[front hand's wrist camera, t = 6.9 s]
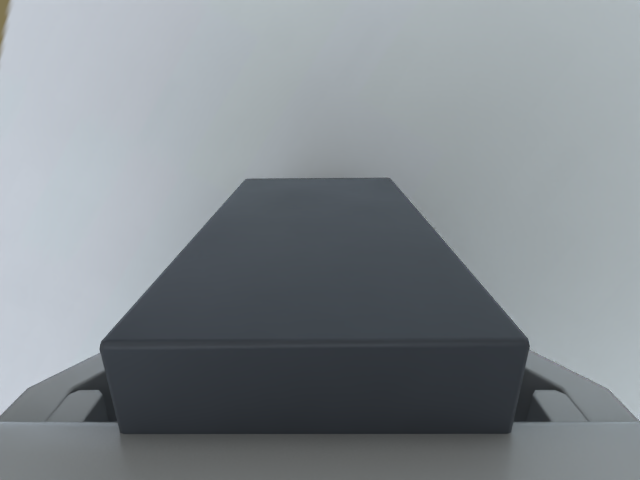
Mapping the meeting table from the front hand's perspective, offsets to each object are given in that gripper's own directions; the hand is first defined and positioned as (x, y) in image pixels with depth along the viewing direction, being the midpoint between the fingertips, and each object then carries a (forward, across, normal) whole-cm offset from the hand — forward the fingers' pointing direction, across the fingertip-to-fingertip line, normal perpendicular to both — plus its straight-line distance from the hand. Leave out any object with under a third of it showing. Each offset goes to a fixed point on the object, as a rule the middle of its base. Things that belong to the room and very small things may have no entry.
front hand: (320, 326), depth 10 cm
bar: (+4, 0, -8) cm, 10 cm away
